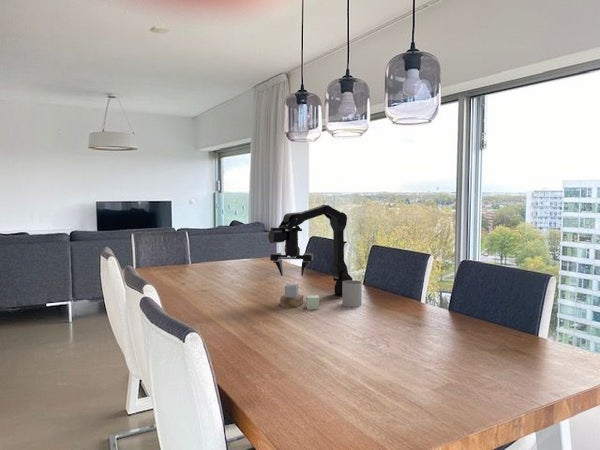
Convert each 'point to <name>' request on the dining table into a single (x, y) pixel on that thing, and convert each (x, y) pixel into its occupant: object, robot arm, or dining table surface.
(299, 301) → the walnut base
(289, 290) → the grey cube
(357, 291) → the cup
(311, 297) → the sage cube
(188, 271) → the dining table surface
